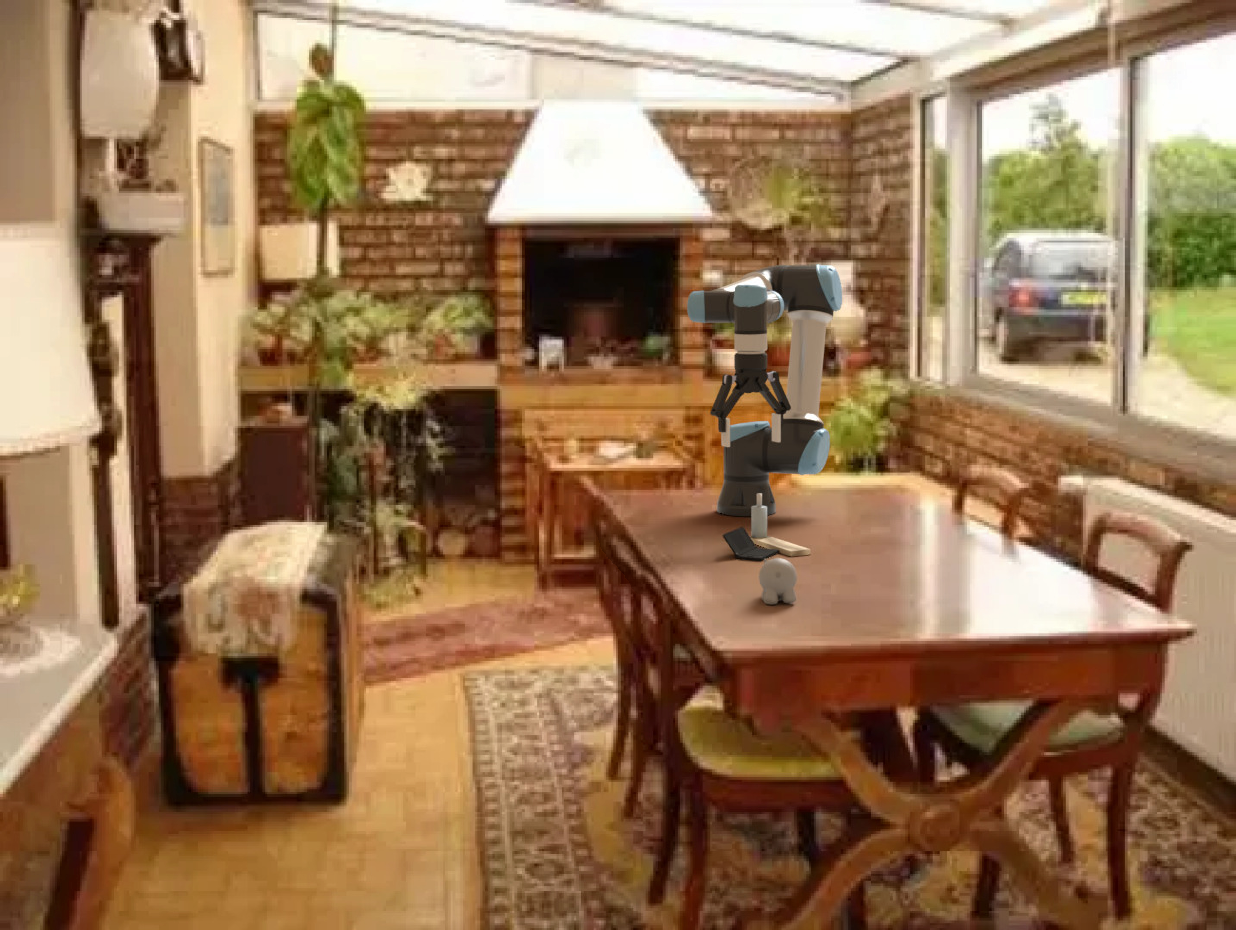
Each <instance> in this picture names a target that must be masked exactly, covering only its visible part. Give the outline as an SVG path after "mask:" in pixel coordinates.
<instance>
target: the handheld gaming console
mask: <svg viewBox="0 0 1236 930" xmlns="http://www.w3.org/2000/svg"><path fill="white" fill-rule="evenodd" d="M749 536H750V535H749V533H748V532H747V530H746V529H745V527H743V526H740V527H738V528H736V529H733V530H731V531H729V532H726V533H724V534H722V538H723V539H724V541H725V542H726V543H727V546H729V548H730V549H731V551H732V552H733V554H734V556H735V560H736V559H740V560H739V561H748V562H750V561H752V562H759V563H761V562H764V559H766V560H767V558H768V559H770V558H772V557H774V556H776V555H778V554H780V553H779V550H777V549H766V548H763V547H759V546H757V545H755V544H754V542H753V541H752V540H751V538H750V537H749ZM777 553H778V554H777ZM769 557H770V558H769Z"/></svg>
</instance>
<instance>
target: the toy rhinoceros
mask: <svg viewBox="0 0 1236 930" xmlns="http://www.w3.org/2000/svg"><path fill="white" fill-rule="evenodd" d="M796 570H797V569H796V568H795V567H794V565H793V564H792V562H790V561H789V560H787V559H784V558H781V557H774V558H771V559H769V560H767V559H764V560H763V565H762V566H761V567H760V570H759V573H758V581H759V584H760V586H761V588H762V592H761V595H760V596H761V601H763V603H764V604H766V605H777V604H778V601H782V602H783V603H786V604H793V603H795V602H796V601H797V593H796V591H795V589H794V588H795V586H796V584H797V579H798V576H797V575H798V573H797V571H796Z"/></svg>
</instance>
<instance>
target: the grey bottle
mask: <svg viewBox="0 0 1236 930" xmlns="http://www.w3.org/2000/svg"><path fill="white" fill-rule="evenodd" d="M750 517H751V518H750V519H751V525H750V528H751V529H750V531H751V532H750V533H751V535H750V536H751V537H753V538H766V537H767V536H768V515H767V506H762V494H761V493H758V494H757V506H752V507H751V516H750Z"/></svg>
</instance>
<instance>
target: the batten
mask: <svg viewBox="0 0 1236 930" xmlns="http://www.w3.org/2000/svg"><path fill="white" fill-rule="evenodd" d="M749 537H750V538H751V540H752V541H753V542H754V544H757V545H759V546H758V547H760V546H761V547H760V548H763V547H764V548H767V549H777V550H779V553H778V554H782V555H785V556H788V557H790V558H791V557H799V556H810V555H811V549H810V548H808V547H805V546H801V545H798V544H795V543H793V542H792V543H791V542H789V541H786V540H783V539H781V538H780V539H779V538H776V537H773V536H771V535H767V537H766V538H753V537H751V535H749ZM757 545H756V546H757Z"/></svg>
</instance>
